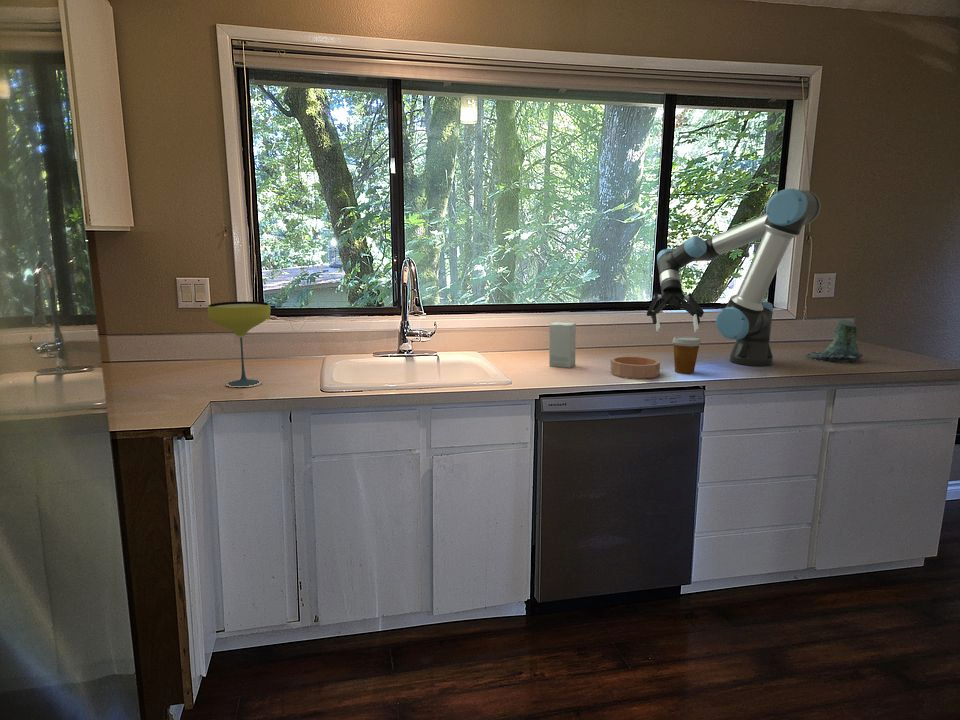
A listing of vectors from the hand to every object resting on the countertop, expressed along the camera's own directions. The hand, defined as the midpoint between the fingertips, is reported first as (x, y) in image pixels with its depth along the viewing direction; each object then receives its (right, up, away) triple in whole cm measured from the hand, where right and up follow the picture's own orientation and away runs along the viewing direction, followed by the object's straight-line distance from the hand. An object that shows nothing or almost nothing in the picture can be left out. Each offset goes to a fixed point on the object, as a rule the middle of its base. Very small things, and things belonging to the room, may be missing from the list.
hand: (677, 330), depth 240 cm
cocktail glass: (-145, -18, -31) cm, 149 cm away
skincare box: (-41, -13, +2) cm, 43 cm away
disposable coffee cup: (0, -15, -6) cm, 16 cm away
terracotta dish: (-18, -15, -10) cm, 25 cm away
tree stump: (+67, -10, +20) cm, 71 cm away
